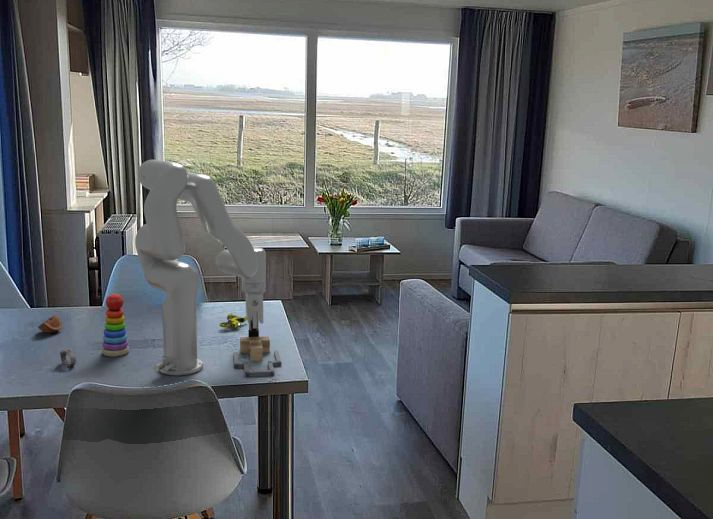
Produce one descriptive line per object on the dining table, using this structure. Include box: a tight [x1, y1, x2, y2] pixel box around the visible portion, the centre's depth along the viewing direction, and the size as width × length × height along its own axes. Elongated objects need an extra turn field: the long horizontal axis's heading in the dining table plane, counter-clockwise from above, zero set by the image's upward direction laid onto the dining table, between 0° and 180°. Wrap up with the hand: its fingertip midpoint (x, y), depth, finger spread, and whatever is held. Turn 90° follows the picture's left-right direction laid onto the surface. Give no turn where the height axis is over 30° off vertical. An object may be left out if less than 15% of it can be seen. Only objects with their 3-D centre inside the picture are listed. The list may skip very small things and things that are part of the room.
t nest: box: [232, 349, 282, 378], centre depth 205 cm, size 17×14×1 cm
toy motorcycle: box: [219, 312, 247, 329], centre depth 240 cm, size 12×4×7 cm
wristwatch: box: [59, 347, 77, 367], centre depth 200 cm, size 4×6×5 cm, turn 51°
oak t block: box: [239, 335, 271, 362], centre depth 213 cm, size 10×9×4 cm
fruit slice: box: [37, 314, 63, 334], centre depth 227 cm, size 8×7×5 cm
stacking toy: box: [101, 293, 130, 358], centre depth 209 cm, size 8×8×19 cm
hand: (253, 341), depth 221 cm, fingers closed
